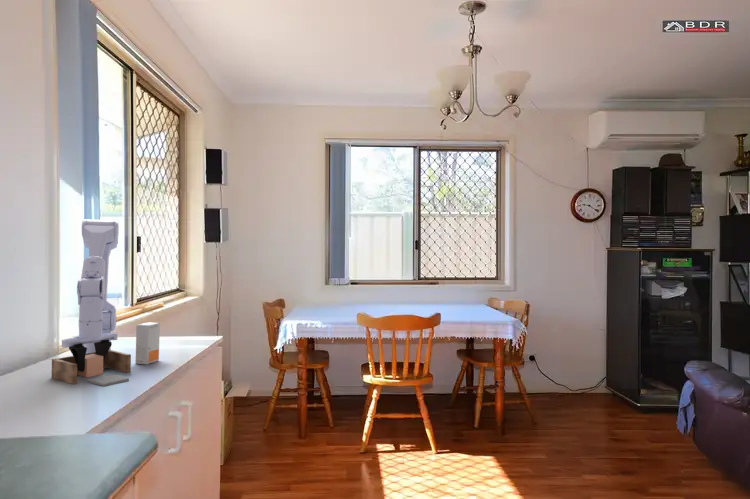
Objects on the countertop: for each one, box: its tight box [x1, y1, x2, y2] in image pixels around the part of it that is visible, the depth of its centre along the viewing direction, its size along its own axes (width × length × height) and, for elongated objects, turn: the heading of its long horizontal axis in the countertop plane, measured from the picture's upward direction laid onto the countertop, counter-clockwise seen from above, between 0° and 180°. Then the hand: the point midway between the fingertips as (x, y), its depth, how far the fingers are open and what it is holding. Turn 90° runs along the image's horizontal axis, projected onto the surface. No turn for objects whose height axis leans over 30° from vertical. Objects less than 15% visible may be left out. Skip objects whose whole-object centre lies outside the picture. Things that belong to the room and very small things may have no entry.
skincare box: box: [135, 321, 161, 365], centre depth 160 cm, size 6×4×12 cm
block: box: [77, 354, 104, 378], centre depth 145 cm, size 5×4×5 cm
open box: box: [51, 349, 132, 385], centre depth 144 cm, size 11×16×5 cm
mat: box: [88, 373, 130, 387], centre depth 138 cm, size 7×7×1 cm
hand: (90, 369), depth 145 cm, fingers closed on block, 4 cm apart
